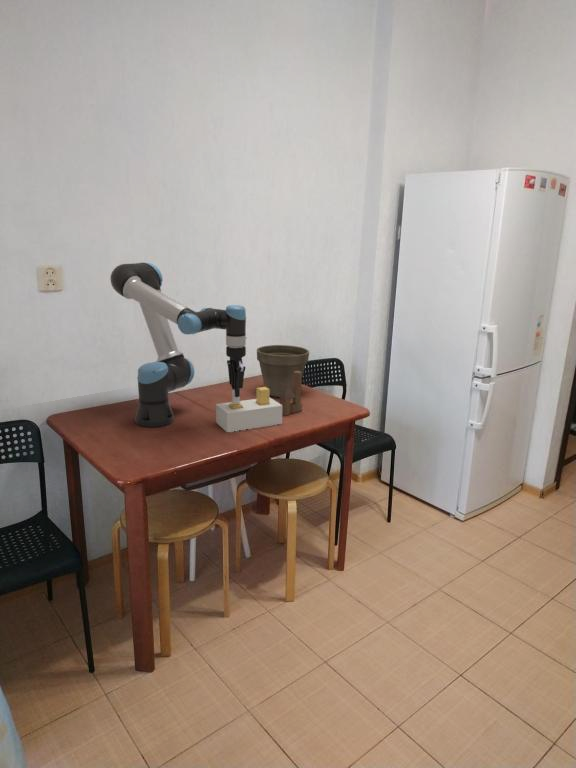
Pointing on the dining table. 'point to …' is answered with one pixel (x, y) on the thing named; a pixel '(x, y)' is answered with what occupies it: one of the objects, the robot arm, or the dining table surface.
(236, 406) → the peg near
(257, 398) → the peg far
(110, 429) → the dining table surface
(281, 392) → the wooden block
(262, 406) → the socket block
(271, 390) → the plant pot
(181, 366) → the robot arm
